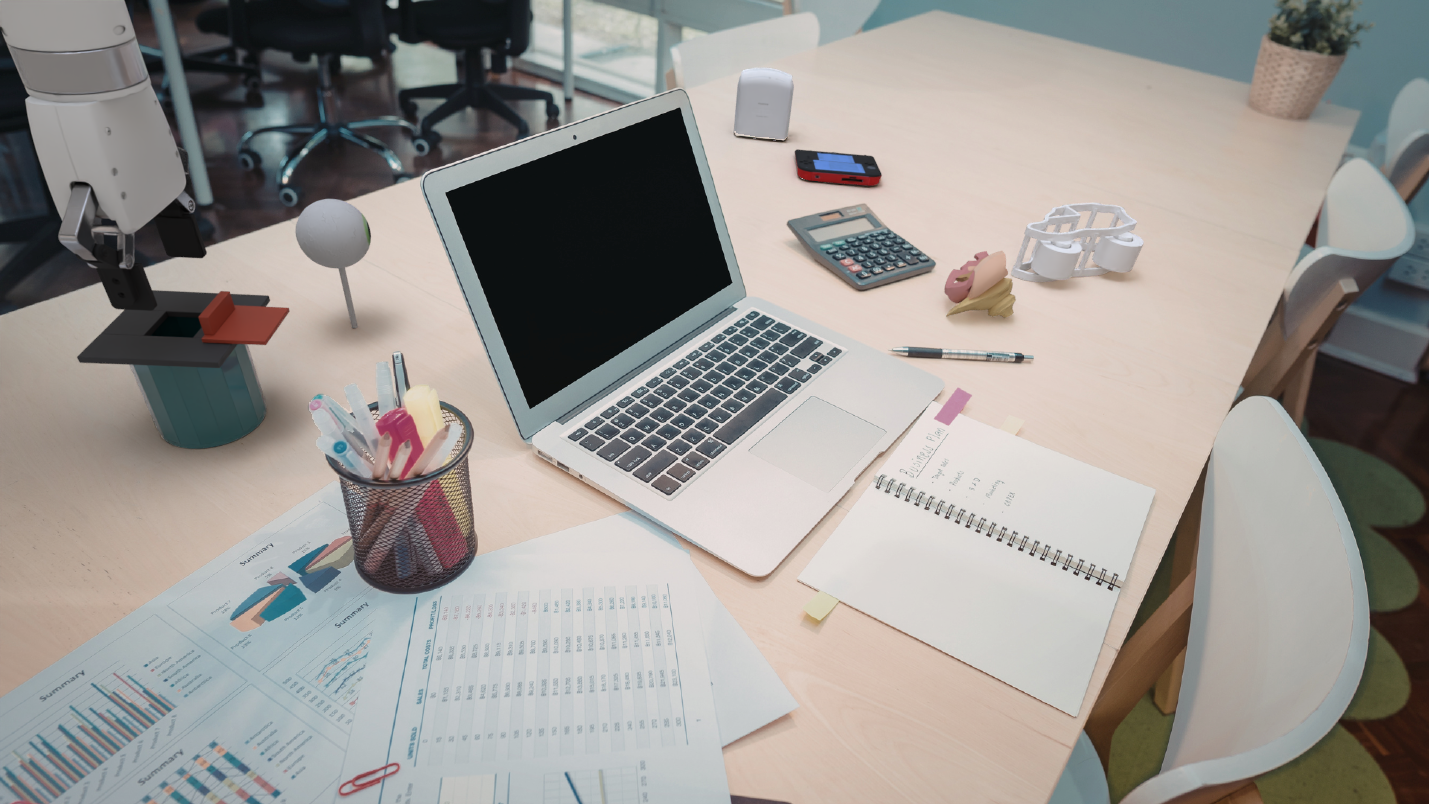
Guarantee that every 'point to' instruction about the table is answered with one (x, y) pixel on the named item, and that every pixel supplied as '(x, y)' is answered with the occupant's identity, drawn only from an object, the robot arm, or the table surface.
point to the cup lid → (136, 345)
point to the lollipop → (334, 239)
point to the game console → (837, 168)
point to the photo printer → (764, 103)
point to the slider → (239, 322)
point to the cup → (202, 395)
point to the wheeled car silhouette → (1078, 245)
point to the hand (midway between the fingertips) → (162, 280)
